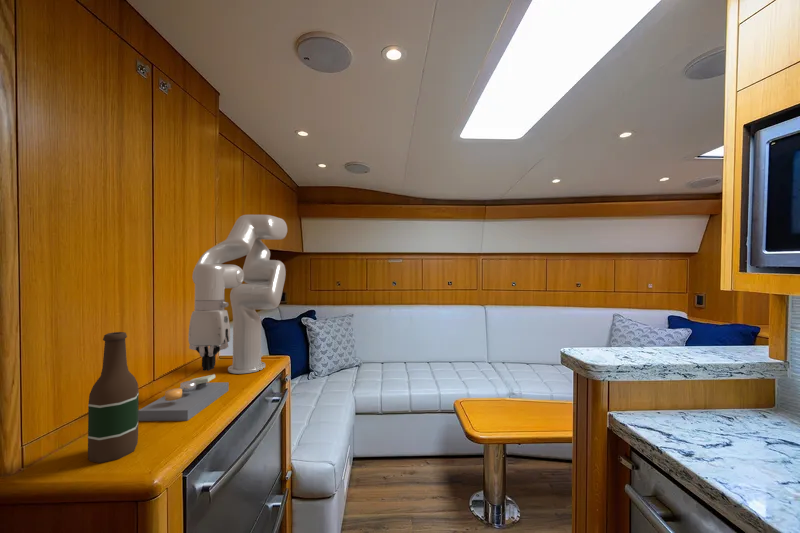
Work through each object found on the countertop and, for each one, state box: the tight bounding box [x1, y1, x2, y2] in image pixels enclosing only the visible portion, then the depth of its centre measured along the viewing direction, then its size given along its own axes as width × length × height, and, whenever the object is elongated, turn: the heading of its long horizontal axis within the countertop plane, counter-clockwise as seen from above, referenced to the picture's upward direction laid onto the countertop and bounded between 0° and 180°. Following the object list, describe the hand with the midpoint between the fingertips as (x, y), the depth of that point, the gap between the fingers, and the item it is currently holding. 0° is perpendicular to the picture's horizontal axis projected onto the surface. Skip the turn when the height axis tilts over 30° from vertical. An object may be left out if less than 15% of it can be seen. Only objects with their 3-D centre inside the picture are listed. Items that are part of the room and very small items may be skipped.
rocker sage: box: [189, 373, 216, 385], centre depth 96 cm, size 4×6×1 cm, turn 91°
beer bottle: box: [87, 331, 140, 464], centre depth 66 cm, size 8×8×24 cm
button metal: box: [179, 380, 196, 392], centre depth 90 cm, size 4×4×2 cm
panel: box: [138, 381, 230, 422], centre depth 90 cm, size 20×12×4 cm, turn 1°
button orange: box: [164, 387, 182, 401], centre depth 84 cm, size 4×4×2 cm
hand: (208, 369), depth 96 cm, fingers closed
